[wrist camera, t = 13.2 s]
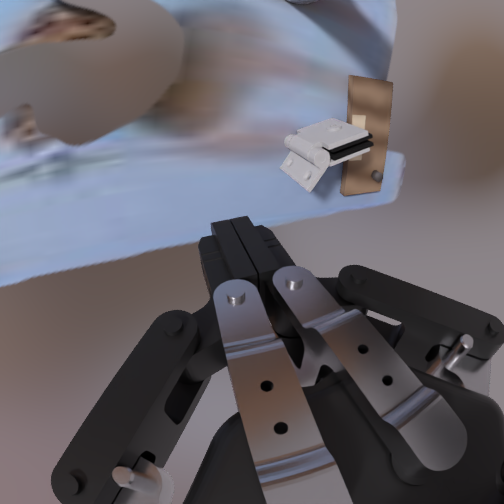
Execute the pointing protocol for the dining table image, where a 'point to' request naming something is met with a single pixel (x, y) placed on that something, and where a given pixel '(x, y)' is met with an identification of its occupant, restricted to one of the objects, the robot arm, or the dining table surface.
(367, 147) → the hinge
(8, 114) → the dining table surface
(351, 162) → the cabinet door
